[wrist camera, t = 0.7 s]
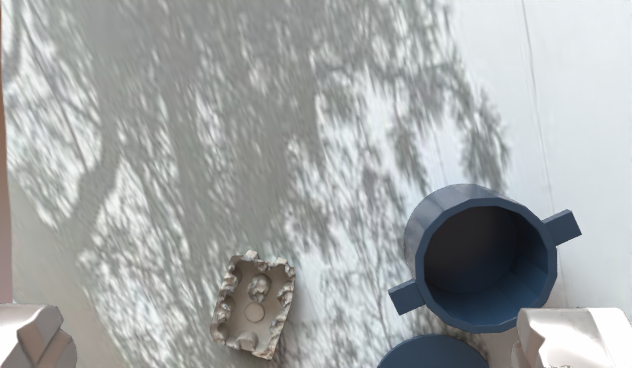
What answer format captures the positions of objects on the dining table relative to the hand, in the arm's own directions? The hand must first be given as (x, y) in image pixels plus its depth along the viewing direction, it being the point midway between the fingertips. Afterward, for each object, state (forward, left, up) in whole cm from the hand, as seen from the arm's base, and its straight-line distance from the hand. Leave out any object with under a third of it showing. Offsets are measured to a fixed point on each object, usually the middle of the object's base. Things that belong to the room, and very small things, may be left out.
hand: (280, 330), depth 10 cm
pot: (-15, -8, -49) cm, 52 cm away
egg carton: (-11, +15, -49) cm, 52 cm away
